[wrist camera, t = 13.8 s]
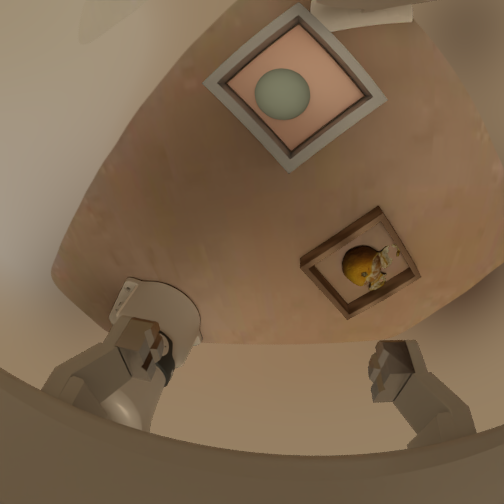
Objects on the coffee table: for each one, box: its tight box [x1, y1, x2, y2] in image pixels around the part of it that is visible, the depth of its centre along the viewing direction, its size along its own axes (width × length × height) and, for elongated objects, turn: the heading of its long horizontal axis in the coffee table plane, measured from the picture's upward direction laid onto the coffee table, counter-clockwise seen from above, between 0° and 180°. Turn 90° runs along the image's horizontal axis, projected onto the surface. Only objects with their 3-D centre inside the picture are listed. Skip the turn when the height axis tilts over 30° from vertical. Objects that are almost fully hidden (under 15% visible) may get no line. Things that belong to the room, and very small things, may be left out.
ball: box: [255, 68, 310, 120], centre depth 28 cm, size 6×6×6 cm
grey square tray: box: [202, 2, 388, 173], centre depth 29 cm, size 14×14×4 cm
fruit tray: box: [300, 206, 421, 320], centre depth 40 cm, size 14×13×2 cm
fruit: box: [342, 244, 400, 290], centre depth 40 cm, size 8×8×4 cm
